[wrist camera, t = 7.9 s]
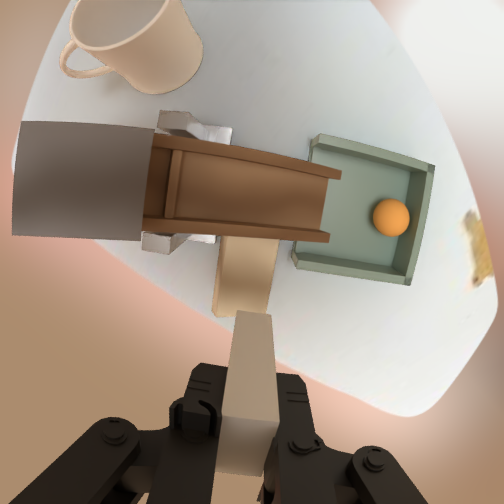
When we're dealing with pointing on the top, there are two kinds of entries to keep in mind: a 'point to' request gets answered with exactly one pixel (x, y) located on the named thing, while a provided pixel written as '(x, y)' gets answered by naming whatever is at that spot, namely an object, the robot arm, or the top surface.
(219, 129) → the stand
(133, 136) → the lever
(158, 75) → the mug
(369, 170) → the tray
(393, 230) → the ball
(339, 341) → the top surface
